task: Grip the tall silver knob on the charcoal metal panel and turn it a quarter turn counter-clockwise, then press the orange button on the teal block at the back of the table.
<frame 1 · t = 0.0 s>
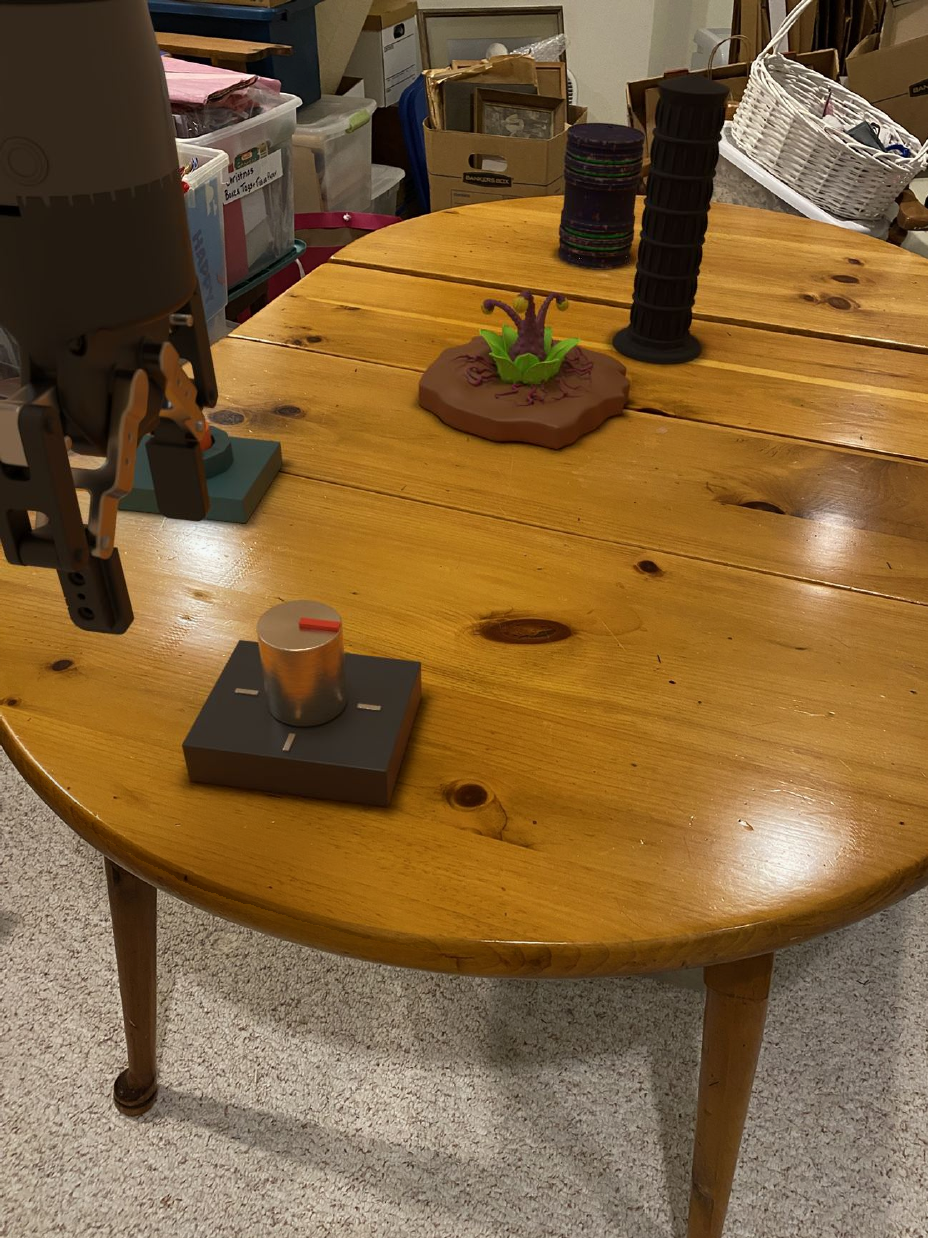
hand: (148, 568, 44), 19 cm above the table, tool pointing down, fingers open, 8 cm apart
handle grip: (656, 347, 114), on the table
button: (187, 436, 83), point 4 cm above the table, slide at 0.1 cm
knob: (303, 661, 60), point 6 cm above the table, hinge at 0.0°
button block: (196, 485, 86), on the table
panel: (311, 736, 64), on the table
plant: (522, 400, 102), on the table
storage jar: (593, 258, 136), on the table
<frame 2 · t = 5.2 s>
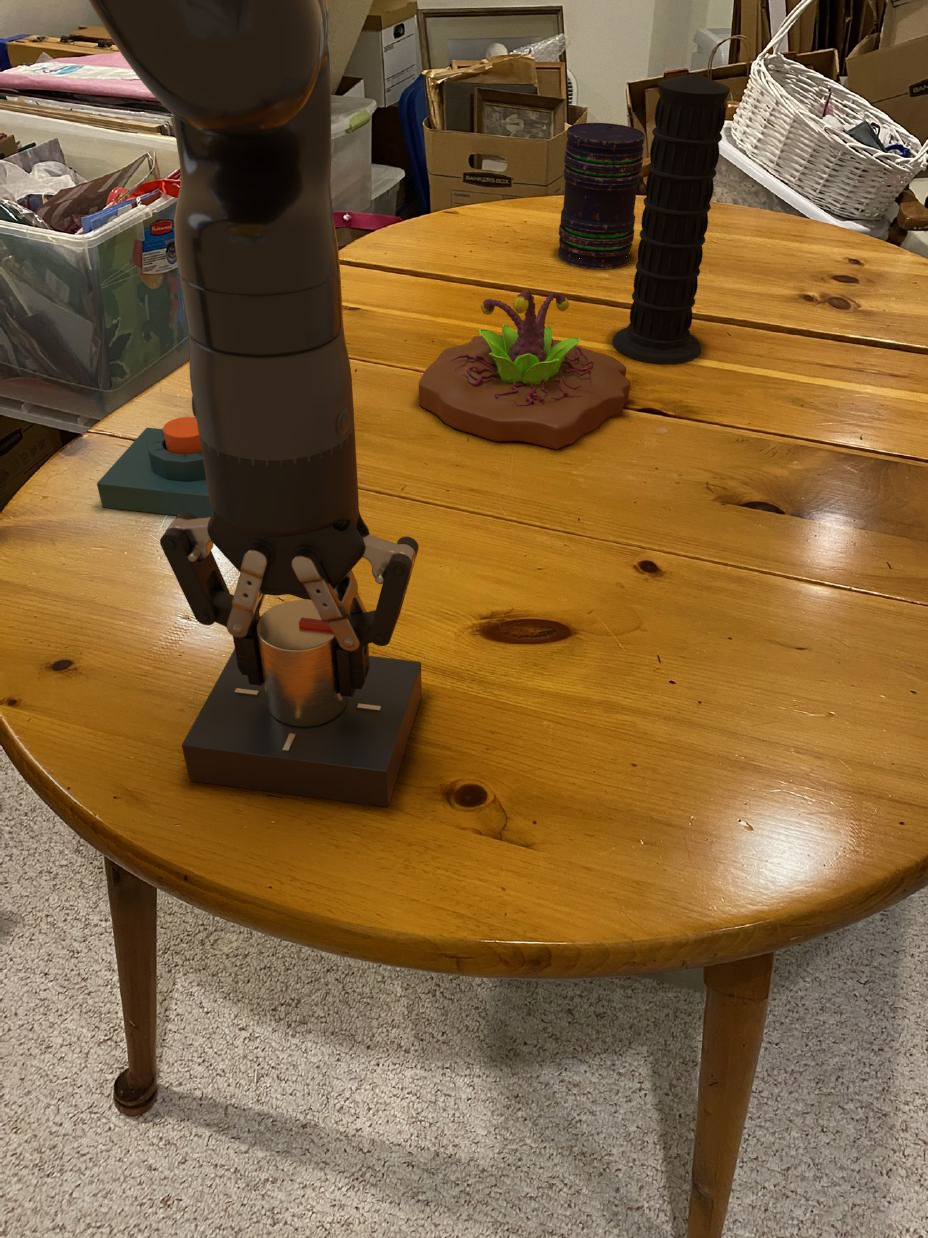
hand: (305, 681, 61), 5 cm above the table, tool pointing down, fingers closed on knob, 5 cm apart
knob: (303, 661, 60), point 6 cm above the table, hinge at 0.0°, touching gripper
everything else where it was.
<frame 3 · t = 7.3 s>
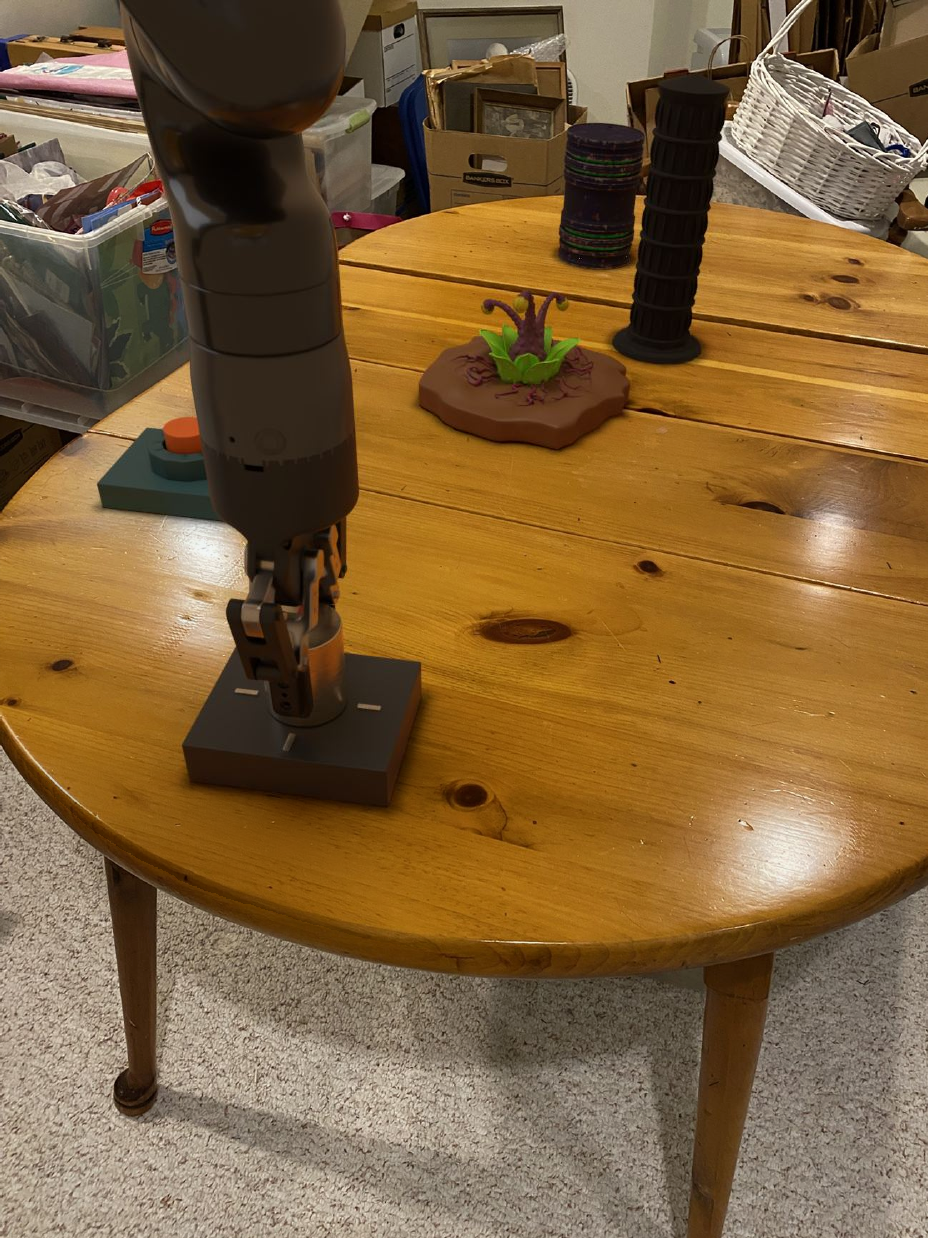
hand: (307, 682, 61), 5 cm above the table, tool pointing down, fingers closed on knob, 5 cm apart
knob: (303, 661, 60), point 6 cm above the table, hinge at 92.5°, touching gripper
everything else where it was.
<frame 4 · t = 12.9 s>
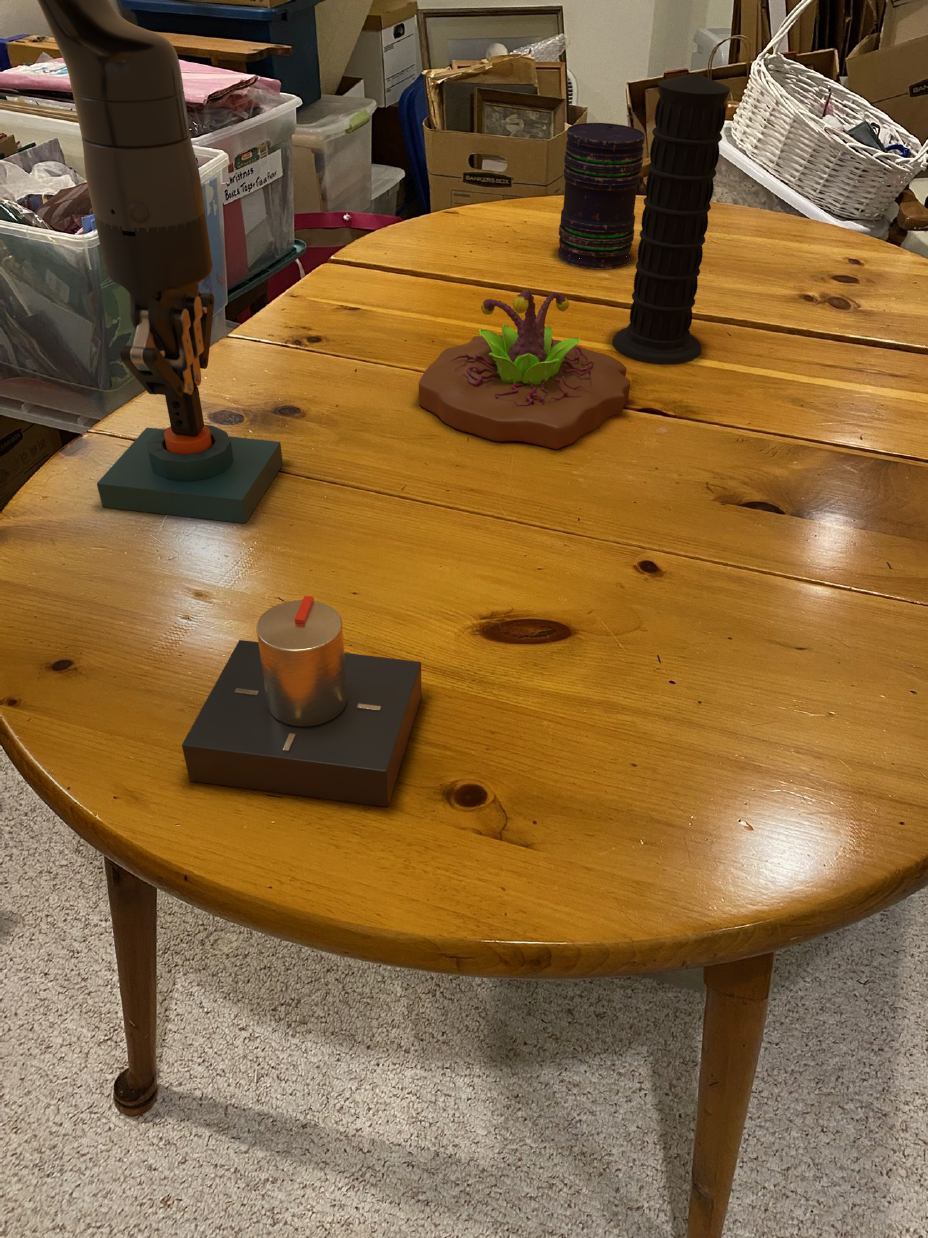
hand: (188, 432, 83), 5 cm above the table, tool pointing down, fingers closed
button: (188, 441, 84), point 4 cm above the table, slide at -0.4 cm, touching gripper
knob: (303, 661, 60), point 6 cm above the table, hinge at 92.4°
everything else where it was.
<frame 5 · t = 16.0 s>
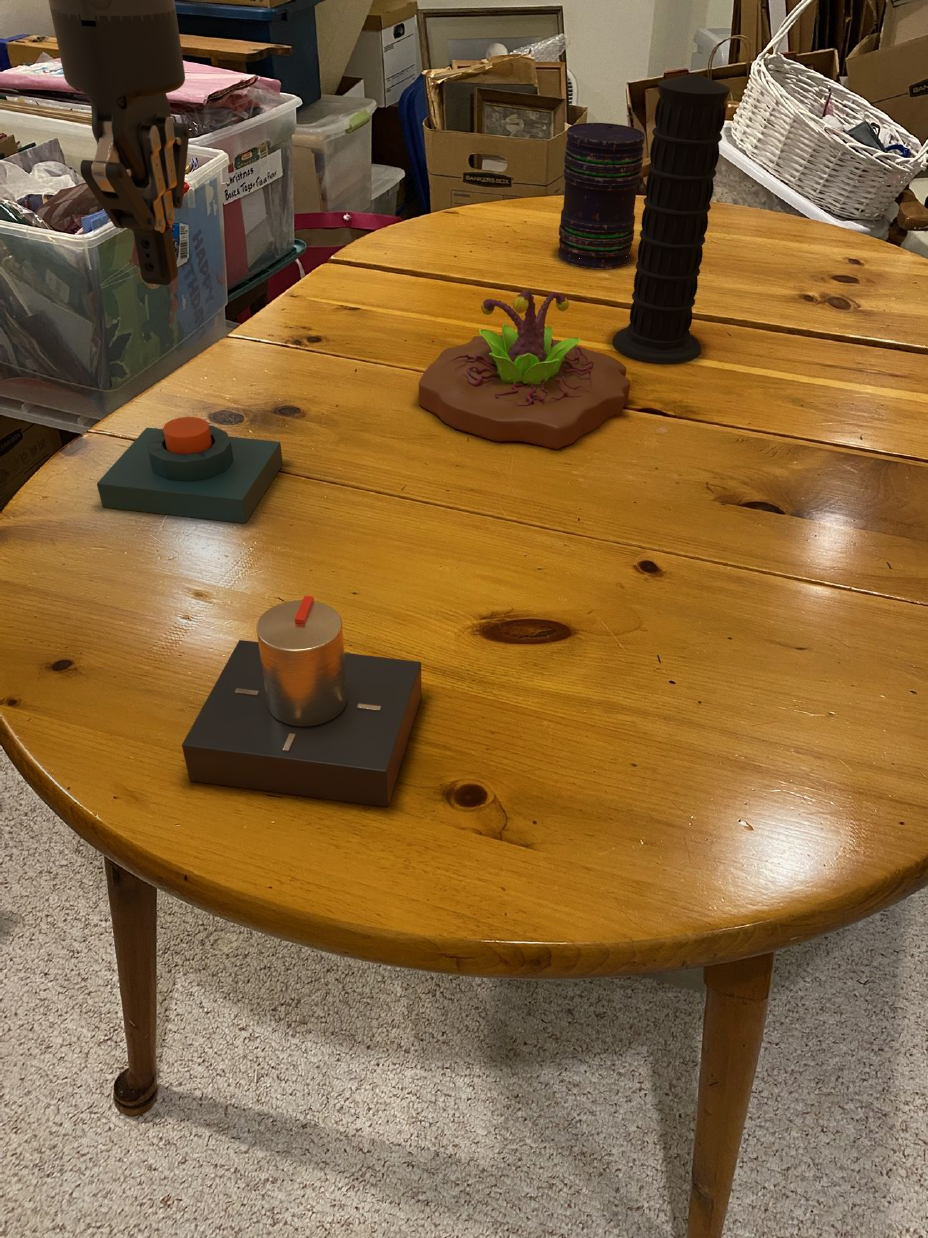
hand: (160, 280, 75), 17 cm above the table, tool pointing down, fingers closed
button: (187, 436, 83), point 4 cm above the table, slide at 0.1 cm
everything else where it was.
at the end: knob at +92° (first picture: +0°); button pushed in 1.1 cm at the most during the clip, back to where it started at the end; button slide at 0.1 cm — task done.
